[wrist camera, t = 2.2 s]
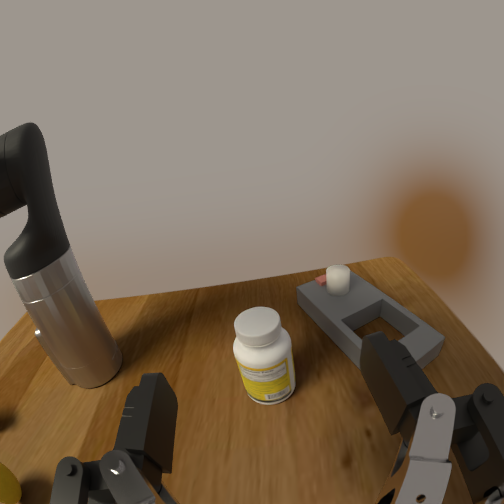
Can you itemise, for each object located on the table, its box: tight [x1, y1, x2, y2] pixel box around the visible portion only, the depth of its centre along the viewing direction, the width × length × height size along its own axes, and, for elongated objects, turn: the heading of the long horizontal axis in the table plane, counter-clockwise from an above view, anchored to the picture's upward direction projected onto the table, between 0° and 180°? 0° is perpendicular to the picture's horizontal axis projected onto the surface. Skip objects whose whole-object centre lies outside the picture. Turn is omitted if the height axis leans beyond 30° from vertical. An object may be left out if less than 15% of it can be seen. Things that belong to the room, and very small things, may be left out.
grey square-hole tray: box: [296, 265, 445, 369], centre depth 31 cm, size 9×20×6 cm, turn 20°
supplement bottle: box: [233, 307, 296, 405], centre depth 25 cm, size 5×5×10 cm
